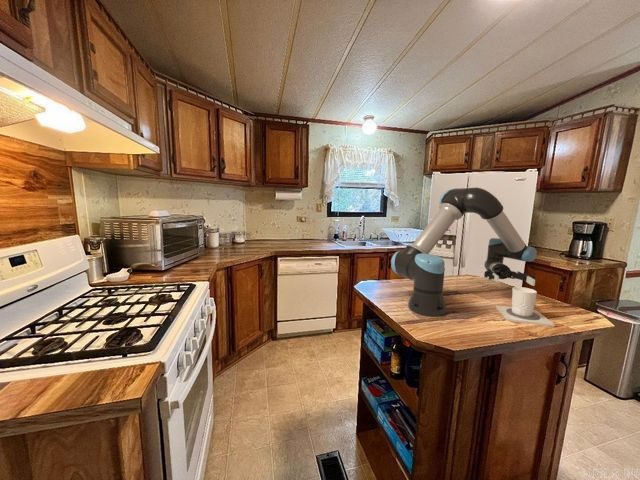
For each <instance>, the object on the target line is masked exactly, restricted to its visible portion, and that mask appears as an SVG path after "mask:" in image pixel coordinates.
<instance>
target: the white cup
mask: <svg viewBox="0 0 640 480" xmlns="http://www.w3.org/2000/svg"><path fill="white" fill-rule="evenodd" d="M511 291H512V292H511V307H512V312H513V313H515V314H517V315H521V316H527V317H529V316H532V314H533V310H535V304H536V301H537V295H538V291H536V290H535V289H533V288H528V287H524V286H523V287H522V286H513V287H512V288H511Z"/></svg>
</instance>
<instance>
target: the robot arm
mask: <svg viewBox="0 0 640 480" xmlns="http://www.w3.org/2000/svg"><path fill="white" fill-rule="evenodd" d="M439 200H440V201H439V206H438V207H439V208H438V209H439V210H438V211H437V213H436V214H435V216H433V218H432V219H431V221H430V222H428V224H427V225H426V227H425V228H424V229H423V230H422V232H421V233H420V234H419V235H418V237H417V238H416V239H415V240H414V241H413V243H412V244H409V245H406V246H405V248H404V249H403V250H399V251H396V252H395V253H394V254H392V257H391V259H390V264H391V269H392V271H393V272H394V273H395V274H396V275H398V276H400V277H401V278H404V279H408V280H410V281H412V282H413V290H412V292H411V294H410V297H409V299H408V304H407V305H408V306H407V307H409V308H408V309H409V310H410V311H411V310H412V311H411V312H413V313H416V314H418V315H423V316H426V317H427V316H428V317H441V316H444V315H445V314H446V313H447V306H446V303H445V302H446V301H445V299H444V295H443V291H444V281H445V271H446V268H445V261H444V259H443V258H442V257H440V256H438V255H435V254H430V252H432V250H433V248H435V246H437V244H438V243H439V241H440V240H441V238H442V237H443V236H444V235H445V234H446V233H447V231H448V230H449V229H450V228H451V227H452V225H453V223H454V222H455V221H457V220H458V221H459V220H461V219H462V217H463V216H464V215H465V214H468V213H469V214H470V213H471V214H472V213H473V214H476V215H479V216H480V218H481V219H483V220H486V222H487V223H488V225H489V226H490V227H491V229H492V230H493V231H494V233H495V234H496V235H497V237H498V238H497V237H496V238H495V237H494V238H493V237H492V238H490V239H488V240H489V241H488V245H487V257H486V260H485V261H484V263H483V265H484V268H485V269H486V271H484V275H483V277H484V278H488V280H493V282H496V283H499V280H506V279H512V280H515V279H516V280H519V281H520V280H521V281H525V282H526V283H527V284H528V285H530V286H533V287H534V286H535V285H536V276H534V275H532V274H527V273H524V272H521V271H513V270H511V268H510V267H509V266H508V265H506V264H504V258H506V259H511V260H517V261H521V262H533V261H535V259H536V257H537V254H538V252H537V248H535V247H533V246H530V245H526V243H525V241H524V240H523V239H522V237H521V236H520V234H519V232H518V230H517V229H516V228H515V227H514V225H513V223H512V222H511V221H510V219H509V218H508V216H507V215H506V213H505V212H504V205H503V204H502V203H501V201H500V200H499V199H498V198H497V197H496V196H495V195H494V194H493V193H491V192H490V191H488V190H486V189H484V188H481V187H466V188H464V187H463V188H462V187H461V188H451V189H448V190H446V191H444V192H443V193H442V194H441V195H440V198H439Z"/></svg>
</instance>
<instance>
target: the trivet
mask: <svg viewBox="0 0 640 480" xmlns="http://www.w3.org/2000/svg"><path fill="white" fill-rule="evenodd" d="M495 308H496V309H497V311H498V312H499V313H500V314H501V315H502V317H504V318H505V320H506V321H507V322H512V323H513V322H515V323H521V324H531V325H536V326H537V325H538V326H546V327H555V324H554V323H553V322H552V321H551V320H550V319H548V318H547V317H546V316H544V315H543V314H542V313H540V311H538V310H537V309H533V314H532V316H529V317H527V316H521V315H517V314H515V313H513V312H512V306H507V305H506V306H505V305H497V304H496V305H495Z"/></svg>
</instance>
